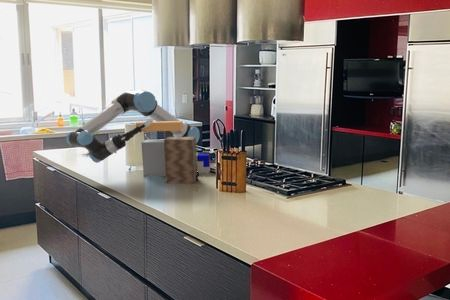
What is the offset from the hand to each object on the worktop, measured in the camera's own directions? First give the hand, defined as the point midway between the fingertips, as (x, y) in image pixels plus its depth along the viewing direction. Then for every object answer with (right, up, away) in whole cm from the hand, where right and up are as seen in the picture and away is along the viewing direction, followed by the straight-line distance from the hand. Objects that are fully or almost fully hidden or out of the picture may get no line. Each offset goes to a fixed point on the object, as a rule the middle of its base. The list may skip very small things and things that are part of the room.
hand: (151, 121), depth 249 cm
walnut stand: (+16, -32, +5) cm, 35 cm away
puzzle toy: (+25, -27, +26) cm, 45 cm away
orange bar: (+4, -5, 0) cm, 7 cm away
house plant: (-56, -17, +92) cm, 109 cm away
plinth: (+1, -29, +21) cm, 36 cm away
